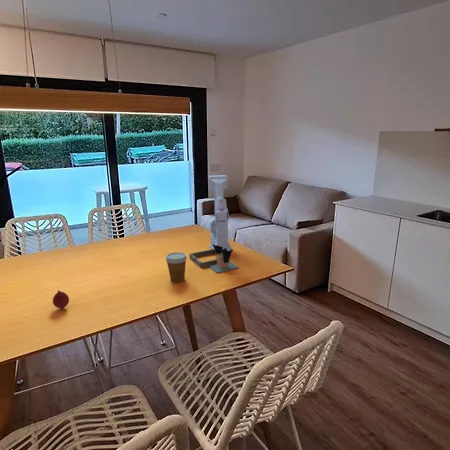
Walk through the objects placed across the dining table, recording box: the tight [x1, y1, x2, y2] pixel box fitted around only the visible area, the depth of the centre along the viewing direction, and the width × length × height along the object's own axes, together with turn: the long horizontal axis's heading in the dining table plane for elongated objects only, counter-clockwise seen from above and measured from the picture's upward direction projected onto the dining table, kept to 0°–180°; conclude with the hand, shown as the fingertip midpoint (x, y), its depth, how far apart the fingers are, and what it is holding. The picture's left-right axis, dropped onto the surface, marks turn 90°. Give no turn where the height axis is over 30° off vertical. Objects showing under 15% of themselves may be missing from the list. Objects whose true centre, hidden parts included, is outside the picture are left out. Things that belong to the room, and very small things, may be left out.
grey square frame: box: [189, 248, 217, 269], centre depth 182 cm, size 16×16×2 cm
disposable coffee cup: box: [165, 251, 188, 283], centre depth 157 cm, size 10×10×12 cm
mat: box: [208, 260, 239, 274], centre depth 172 cm, size 10×12×1 cm
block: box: [216, 253, 229, 268], centre depth 171 cm, size 4×4×6 cm
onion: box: [52, 289, 70, 310], centre depth 134 cm, size 6×6×8 cm
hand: (222, 260), depth 171 cm, fingers open, 7 cm apart
